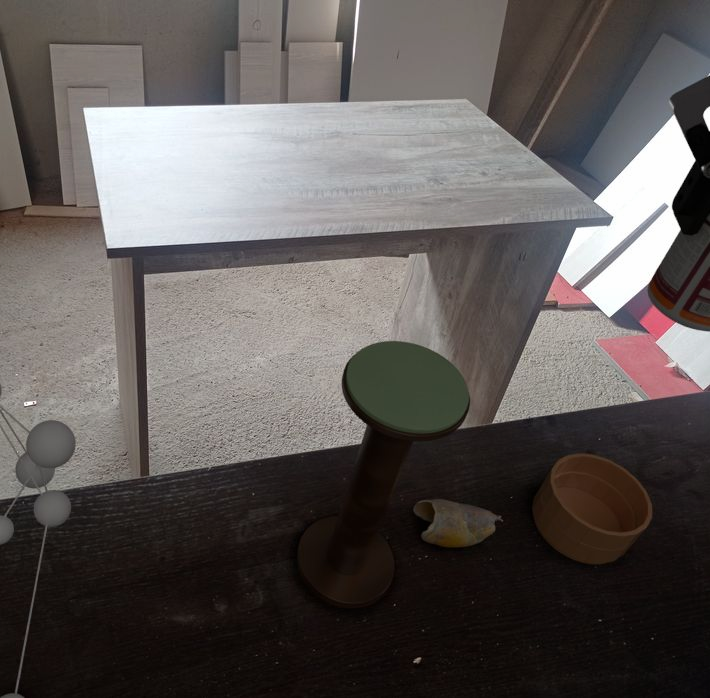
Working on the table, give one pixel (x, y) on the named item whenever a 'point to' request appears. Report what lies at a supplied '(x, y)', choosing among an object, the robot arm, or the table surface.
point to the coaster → (407, 387)
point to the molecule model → (40, 484)
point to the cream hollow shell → (455, 523)
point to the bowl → (591, 509)
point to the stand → (360, 519)
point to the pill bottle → (685, 280)
